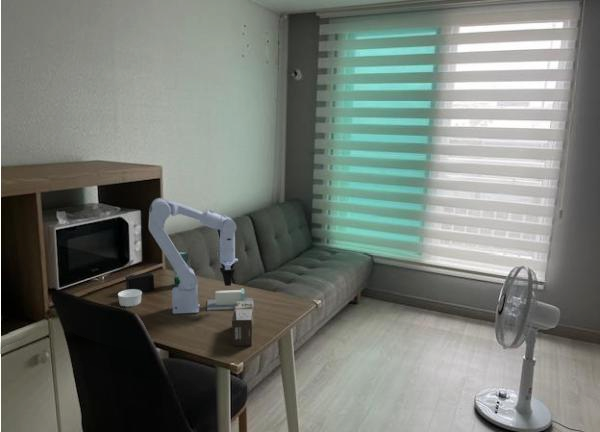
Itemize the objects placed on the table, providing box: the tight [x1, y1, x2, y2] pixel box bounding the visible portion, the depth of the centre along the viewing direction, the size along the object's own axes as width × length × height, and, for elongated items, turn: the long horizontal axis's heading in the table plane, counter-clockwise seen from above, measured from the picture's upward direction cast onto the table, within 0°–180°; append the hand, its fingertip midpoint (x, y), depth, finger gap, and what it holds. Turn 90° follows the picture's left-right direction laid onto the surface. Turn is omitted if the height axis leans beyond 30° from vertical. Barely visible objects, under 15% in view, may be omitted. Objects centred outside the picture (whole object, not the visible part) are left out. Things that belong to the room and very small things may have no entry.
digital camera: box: [125, 272, 155, 294], centre depth 194 cm, size 10×5×7 cm, turn 127°
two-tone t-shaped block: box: [214, 287, 246, 305], centre depth 181 cm, size 11×6×5 cm, turn 99°
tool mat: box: [206, 297, 255, 312], centre depth 181 cm, size 18×10×1 cm, turn 99°
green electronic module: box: [173, 250, 190, 288], centre depth 201 cm, size 6×6×15 cm
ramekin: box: [117, 289, 143, 308], centre depth 181 cm, size 9×9×4 cm
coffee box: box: [231, 300, 254, 347], centre depth 154 cm, size 9×6×16 cm
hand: (227, 282), depth 179 cm, fingers open, 7 cm apart
